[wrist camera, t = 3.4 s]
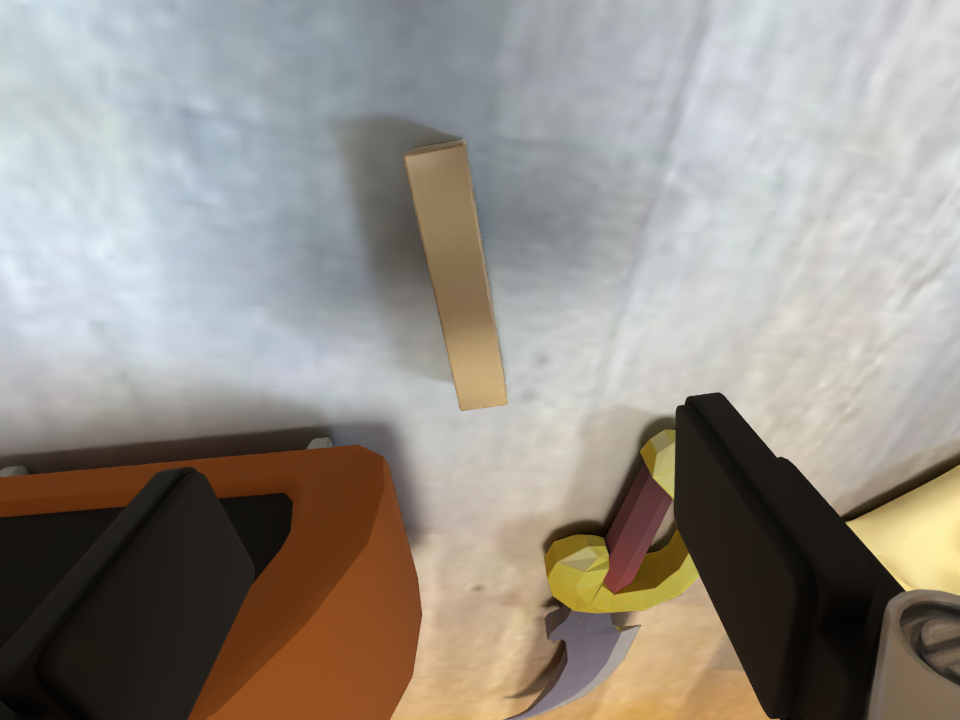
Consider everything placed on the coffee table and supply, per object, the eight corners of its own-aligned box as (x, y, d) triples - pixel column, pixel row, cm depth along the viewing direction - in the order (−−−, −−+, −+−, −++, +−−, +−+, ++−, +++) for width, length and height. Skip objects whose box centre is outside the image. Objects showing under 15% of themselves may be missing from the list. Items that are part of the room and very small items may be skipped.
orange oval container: (402, 417, 23) (263, 1007, 8) (432, 550, 27) (377, 1094, 12) (-70, 461, 24) (-945, 1048, 9) (30, 582, 28) (-457, 1113, 13)
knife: (585, 709, 35) (758, 434, 23) (593, 753, 33) (790, 472, 21) (479, 696, 34) (603, 403, 22) (479, 740, 32) (618, 439, 20)
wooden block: (409, 149, 17) (402, 155, 16) (465, 138, 17) (464, 143, 15) (461, 386, 22) (460, 412, 20) (505, 380, 22) (508, 405, 20)
